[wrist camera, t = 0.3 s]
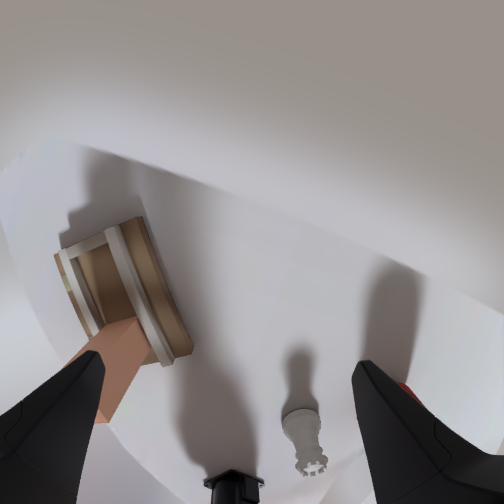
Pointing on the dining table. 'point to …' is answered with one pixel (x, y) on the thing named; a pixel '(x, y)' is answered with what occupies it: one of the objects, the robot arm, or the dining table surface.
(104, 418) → the slider tab
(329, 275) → the dining table surface
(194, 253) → the dining table surface
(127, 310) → the wooden rail base
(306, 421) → the rook chess piece
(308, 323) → the dining table surface
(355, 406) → the robot arm
